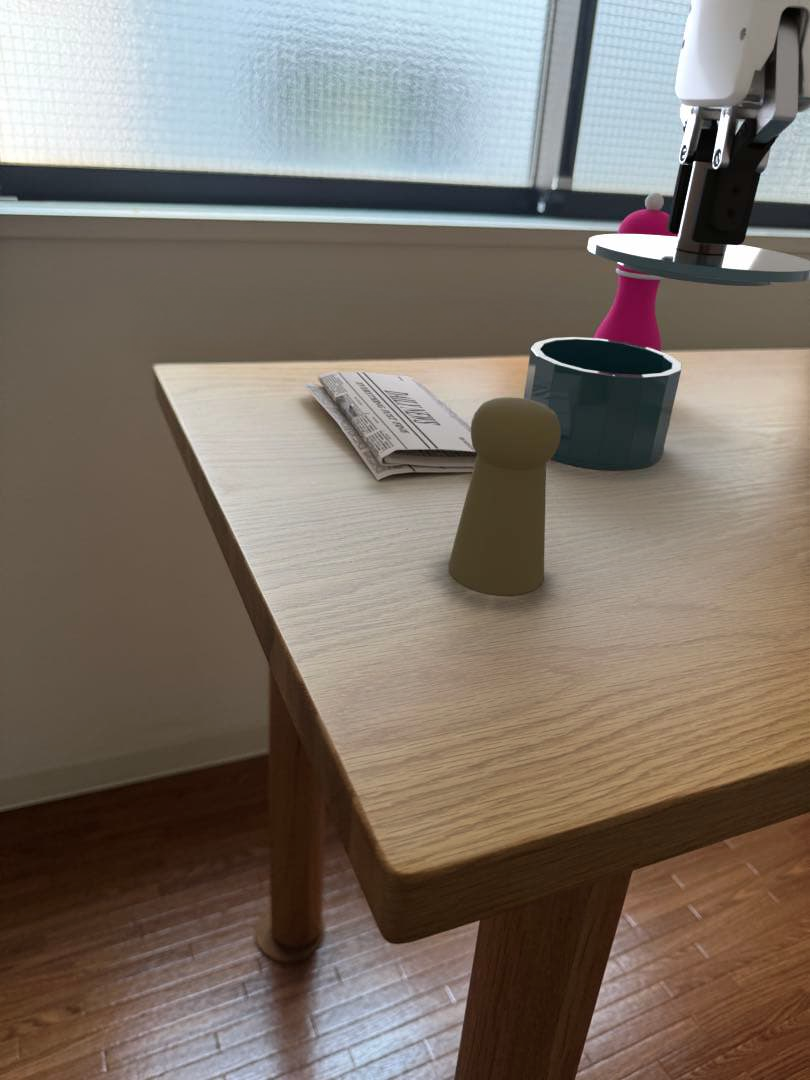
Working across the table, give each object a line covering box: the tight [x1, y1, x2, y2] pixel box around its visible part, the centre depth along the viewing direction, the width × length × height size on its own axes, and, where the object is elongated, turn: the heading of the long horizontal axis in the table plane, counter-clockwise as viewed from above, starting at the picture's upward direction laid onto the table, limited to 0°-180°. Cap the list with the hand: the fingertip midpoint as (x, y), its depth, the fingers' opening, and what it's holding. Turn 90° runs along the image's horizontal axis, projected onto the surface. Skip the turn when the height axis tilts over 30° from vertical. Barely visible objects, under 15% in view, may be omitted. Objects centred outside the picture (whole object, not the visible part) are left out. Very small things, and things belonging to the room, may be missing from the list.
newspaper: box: [301, 371, 477, 481], centre depth 76 cm, size 23×12×2 cm, turn 18°
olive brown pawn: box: [448, 396, 561, 596], centre depth 51 cm, size 6×6×11 cm
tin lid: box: [586, 161, 810, 287], centre depth 52 cm, size 14×14×6 cm
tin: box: [523, 336, 683, 471], centre depth 75 cm, size 13×13×8 cm
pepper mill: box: [593, 192, 678, 352], centre depth 88 cm, size 7×7×20 cm
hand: (703, 235), depth 52 cm, fingers closed on tin lid, 3 cm apart
